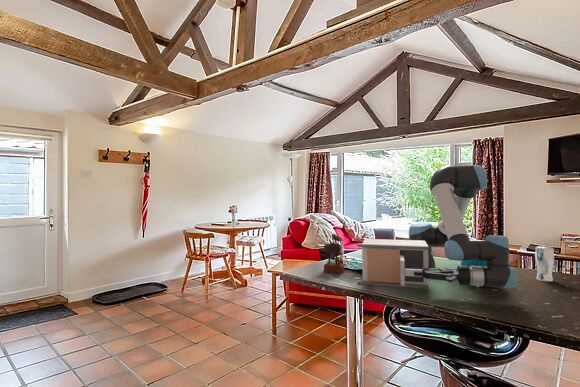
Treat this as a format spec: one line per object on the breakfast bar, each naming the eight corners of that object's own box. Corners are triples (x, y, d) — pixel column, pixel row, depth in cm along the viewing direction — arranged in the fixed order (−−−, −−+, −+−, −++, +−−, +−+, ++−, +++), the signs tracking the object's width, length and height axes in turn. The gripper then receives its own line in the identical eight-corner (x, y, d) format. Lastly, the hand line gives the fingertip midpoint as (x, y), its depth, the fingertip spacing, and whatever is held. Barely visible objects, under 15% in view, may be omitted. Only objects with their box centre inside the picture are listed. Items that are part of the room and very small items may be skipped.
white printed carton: (554, 279, 154) (554, 247, 154) (553, 282, 149) (553, 249, 149) (536, 277, 159) (536, 245, 159) (534, 280, 154) (533, 247, 154)
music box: (350, 270, 176) (348, 233, 175) (340, 277, 168) (338, 237, 166) (325, 266, 186) (323, 231, 184) (315, 272, 177) (312, 235, 175)
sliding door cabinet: (357, 284, 152) (357, 244, 151) (361, 274, 169) (360, 238, 168) (429, 288, 143) (428, 246, 143) (425, 278, 160) (424, 240, 160)
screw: (338, 264, 190) (337, 263, 195) (347, 264, 191) (345, 262, 195) (338, 242, 190) (336, 240, 195) (346, 241, 190) (345, 240, 195)
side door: (365, 289, 139) (364, 253, 139) (367, 280, 152) (367, 247, 152) (404, 292, 134) (404, 254, 134) (403, 282, 147) (403, 248, 147)
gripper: (473, 290, 124) (405, 285, 130) (465, 280, 136) (404, 277, 143) (473, 269, 123) (405, 266, 130) (465, 262, 136) (404, 259, 143)
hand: (405, 272), depth 136 cm, fingers closed
